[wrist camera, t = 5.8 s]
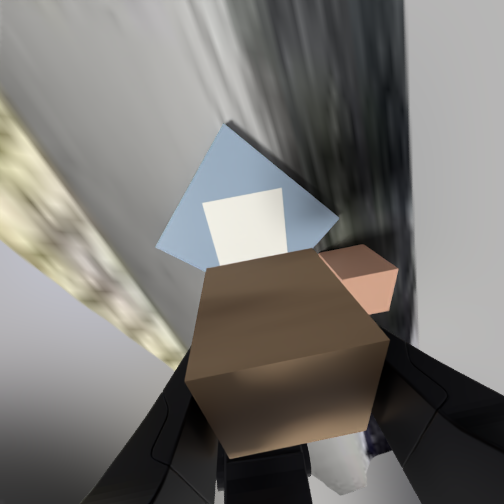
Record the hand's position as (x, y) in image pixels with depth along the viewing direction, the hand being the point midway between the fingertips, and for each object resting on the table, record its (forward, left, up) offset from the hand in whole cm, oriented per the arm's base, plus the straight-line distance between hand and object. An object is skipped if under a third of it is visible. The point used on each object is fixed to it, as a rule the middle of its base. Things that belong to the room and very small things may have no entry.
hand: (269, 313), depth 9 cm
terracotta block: (+2, -11, -11) cm, 16 cm away
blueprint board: (0, 0, -11) cm, 11 cm away
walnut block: (0, 0, -1) cm, 1 cm away
